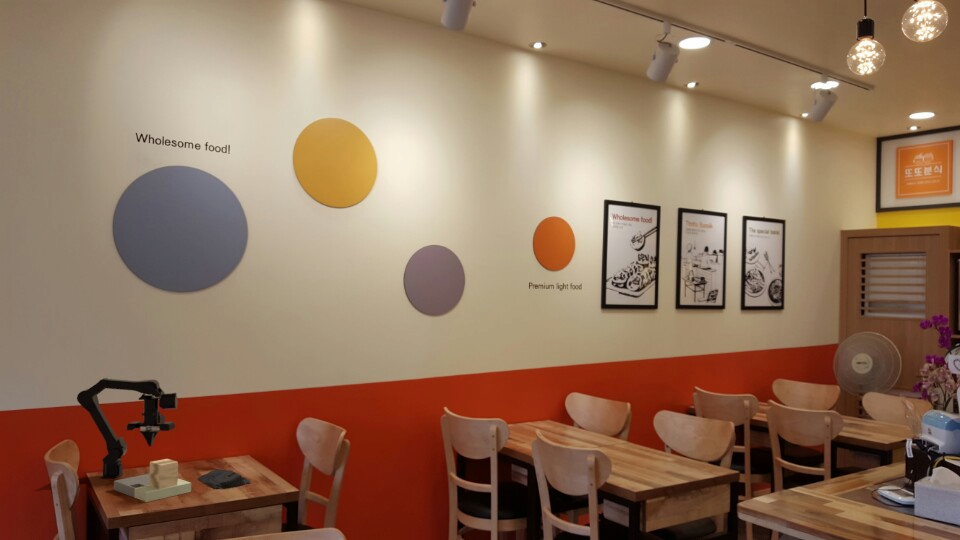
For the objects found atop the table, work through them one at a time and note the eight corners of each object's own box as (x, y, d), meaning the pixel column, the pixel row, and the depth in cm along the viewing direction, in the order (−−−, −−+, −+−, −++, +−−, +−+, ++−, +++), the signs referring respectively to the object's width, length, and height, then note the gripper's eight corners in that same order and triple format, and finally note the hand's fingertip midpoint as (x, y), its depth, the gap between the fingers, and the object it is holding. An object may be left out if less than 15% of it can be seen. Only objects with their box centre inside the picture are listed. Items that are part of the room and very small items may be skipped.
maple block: (149, 485, 275) (149, 461, 275) (166, 481, 281) (167, 458, 281) (160, 489, 270) (160, 465, 270) (177, 485, 276) (178, 462, 276)
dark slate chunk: (230, 474, 309) (230, 463, 309) (252, 485, 292) (253, 473, 293) (194, 480, 298) (195, 468, 298) (216, 491, 282) (216, 479, 282)
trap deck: (113, 489, 280) (114, 480, 280) (157, 480, 295) (157, 471, 295) (146, 502, 265) (146, 492, 265) (191, 491, 280) (191, 482, 280)
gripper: (181, 406, 311) (180, 442, 311) (139, 406, 312) (139, 442, 312) (168, 411, 300) (168, 448, 300) (125, 410, 301) (125, 447, 301)
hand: (150, 446), depth 303 cm, fingers closed
